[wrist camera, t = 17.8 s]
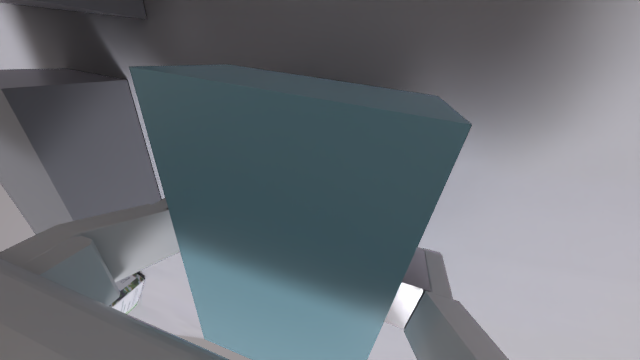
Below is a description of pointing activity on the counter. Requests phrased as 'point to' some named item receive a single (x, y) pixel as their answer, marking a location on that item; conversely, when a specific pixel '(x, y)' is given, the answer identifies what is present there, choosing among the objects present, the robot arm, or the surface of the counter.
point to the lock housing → (72, 136)
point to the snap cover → (295, 200)
